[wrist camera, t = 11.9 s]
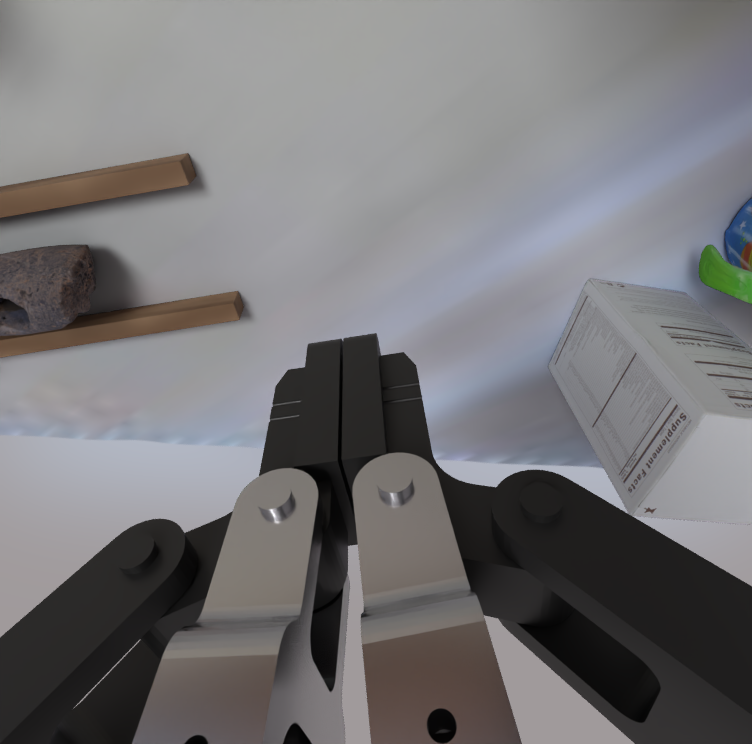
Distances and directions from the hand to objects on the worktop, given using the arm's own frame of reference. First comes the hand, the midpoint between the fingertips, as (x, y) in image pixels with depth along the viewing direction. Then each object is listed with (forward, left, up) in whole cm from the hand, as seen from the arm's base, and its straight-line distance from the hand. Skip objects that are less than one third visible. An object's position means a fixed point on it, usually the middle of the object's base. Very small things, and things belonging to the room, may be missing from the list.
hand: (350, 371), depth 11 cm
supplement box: (+20, +20, -27) cm, 39 cm away
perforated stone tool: (+6, -27, -27) cm, 39 cm away
